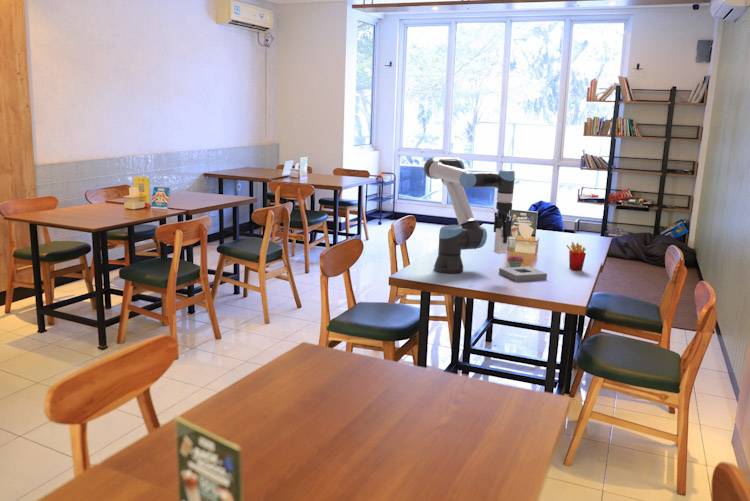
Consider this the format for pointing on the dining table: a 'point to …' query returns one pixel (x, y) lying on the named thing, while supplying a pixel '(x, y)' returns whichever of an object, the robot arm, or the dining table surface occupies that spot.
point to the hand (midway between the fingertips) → (500, 248)
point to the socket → (522, 273)
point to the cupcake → (515, 260)
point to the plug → (499, 241)
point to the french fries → (576, 257)
